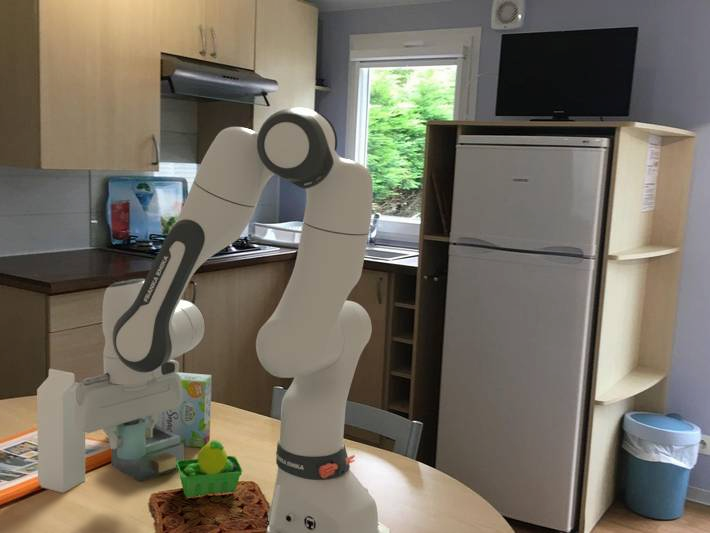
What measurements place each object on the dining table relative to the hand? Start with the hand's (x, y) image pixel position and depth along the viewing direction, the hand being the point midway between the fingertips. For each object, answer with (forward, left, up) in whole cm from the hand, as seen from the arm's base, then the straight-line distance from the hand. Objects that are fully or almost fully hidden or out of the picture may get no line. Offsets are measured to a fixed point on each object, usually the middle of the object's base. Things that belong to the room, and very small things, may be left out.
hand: (131, 442), depth 135 cm
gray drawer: (+9, -9, -11) cm, 17 cm away
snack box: (+19, -19, -11) cm, 29 cm away
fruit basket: (-8, -11, -11) cm, 18 cm away
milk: (+13, +6, -11) cm, 18 cm away
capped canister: (0, 0, -2) cm, 2 cm away
